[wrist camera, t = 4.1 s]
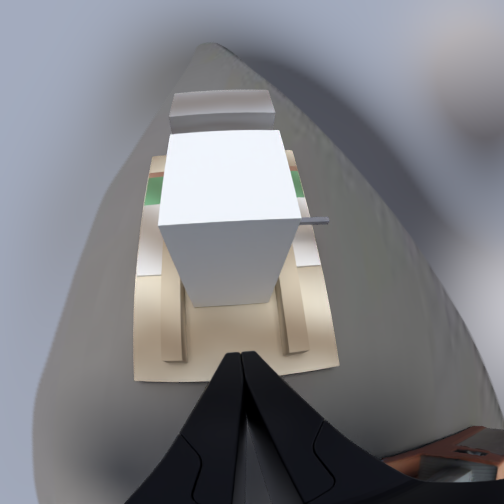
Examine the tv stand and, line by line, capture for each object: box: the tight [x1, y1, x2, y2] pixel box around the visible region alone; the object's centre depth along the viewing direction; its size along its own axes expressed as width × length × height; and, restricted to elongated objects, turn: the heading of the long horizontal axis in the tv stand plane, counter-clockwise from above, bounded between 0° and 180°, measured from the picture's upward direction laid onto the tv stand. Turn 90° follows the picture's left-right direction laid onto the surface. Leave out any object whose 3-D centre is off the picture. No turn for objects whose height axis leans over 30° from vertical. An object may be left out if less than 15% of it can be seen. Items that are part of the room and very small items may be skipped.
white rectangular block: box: [158, 130, 329, 307], centre depth 12 cm, size 4×8×8 cm, turn 96°
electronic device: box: [381, 426, 504, 482], centre depth 8 cm, size 4×10×8 cm, turn 87°
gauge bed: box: [133, 90, 339, 382], centre depth 15 cm, size 17×11×6 cm, turn 6°
